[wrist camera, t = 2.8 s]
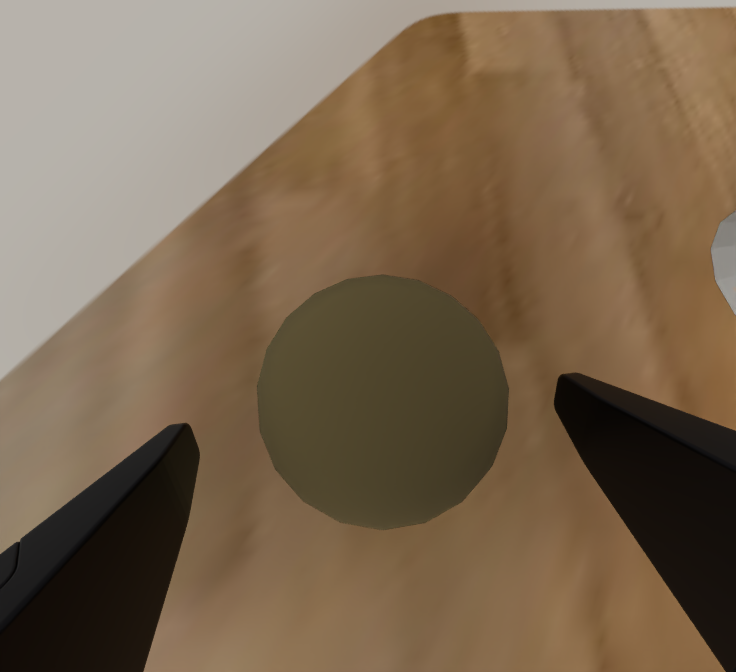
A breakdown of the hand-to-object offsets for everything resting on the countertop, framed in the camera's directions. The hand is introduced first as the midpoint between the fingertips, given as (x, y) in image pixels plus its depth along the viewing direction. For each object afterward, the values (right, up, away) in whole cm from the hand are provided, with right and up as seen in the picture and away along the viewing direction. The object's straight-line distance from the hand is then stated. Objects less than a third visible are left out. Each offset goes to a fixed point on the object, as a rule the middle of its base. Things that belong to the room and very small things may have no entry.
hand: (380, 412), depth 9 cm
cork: (0, -2, +8) cm, 8 cm away
